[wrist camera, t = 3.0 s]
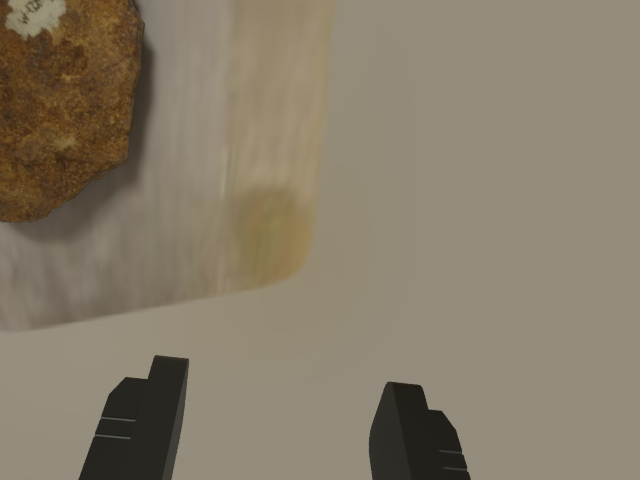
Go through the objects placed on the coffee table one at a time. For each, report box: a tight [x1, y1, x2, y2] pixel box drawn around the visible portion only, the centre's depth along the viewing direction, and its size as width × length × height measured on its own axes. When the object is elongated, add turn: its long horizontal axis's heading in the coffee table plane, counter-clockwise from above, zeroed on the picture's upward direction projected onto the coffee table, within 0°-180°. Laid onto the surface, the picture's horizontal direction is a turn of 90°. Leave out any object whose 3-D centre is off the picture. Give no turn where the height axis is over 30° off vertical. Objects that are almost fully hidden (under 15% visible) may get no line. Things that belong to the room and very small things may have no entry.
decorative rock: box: [0, 0, 145, 222], centre depth 27 cm, size 11×4×15 cm
